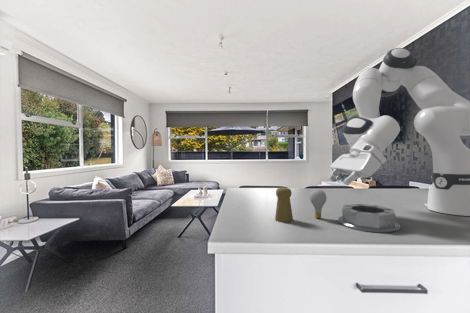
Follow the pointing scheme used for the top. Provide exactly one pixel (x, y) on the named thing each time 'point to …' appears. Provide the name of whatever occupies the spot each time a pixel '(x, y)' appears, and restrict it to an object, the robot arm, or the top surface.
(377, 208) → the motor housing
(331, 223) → the top surface
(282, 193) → the cork
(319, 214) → the light bulb
